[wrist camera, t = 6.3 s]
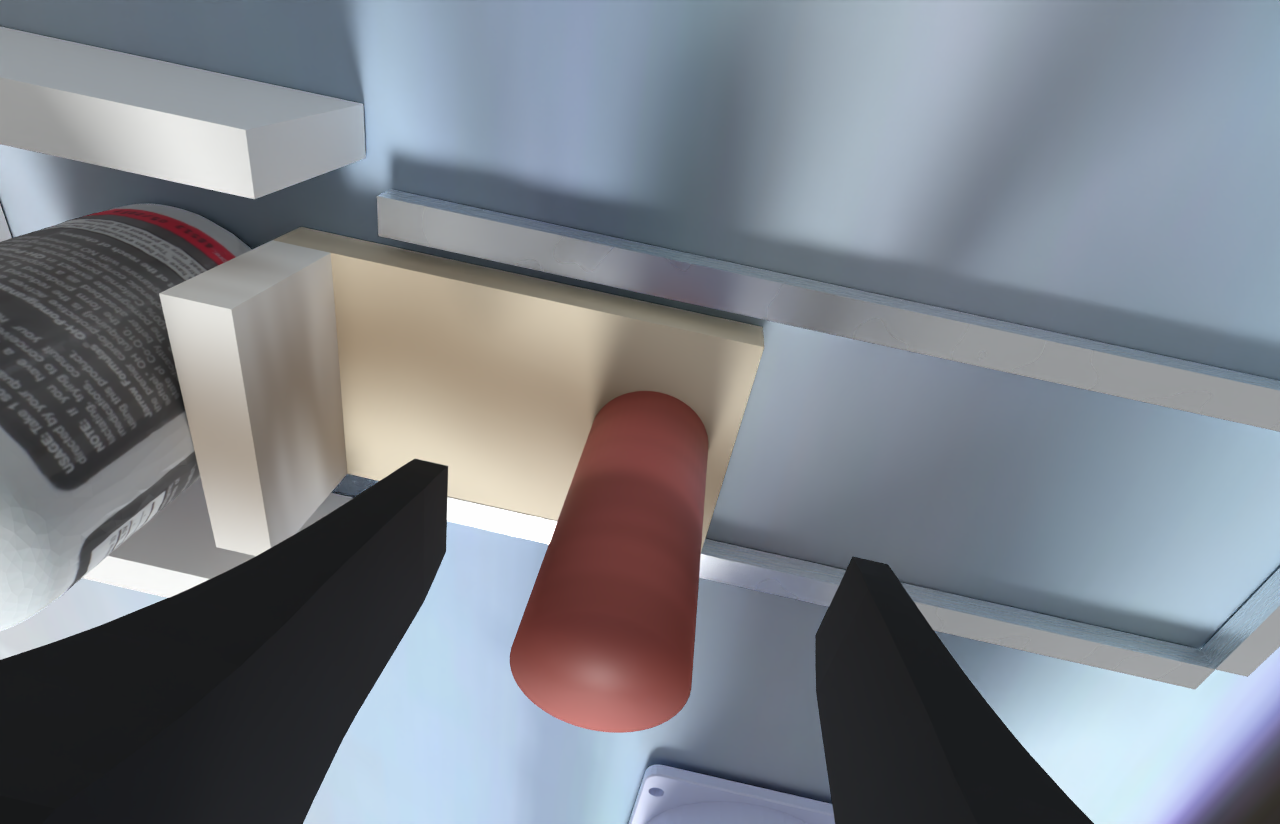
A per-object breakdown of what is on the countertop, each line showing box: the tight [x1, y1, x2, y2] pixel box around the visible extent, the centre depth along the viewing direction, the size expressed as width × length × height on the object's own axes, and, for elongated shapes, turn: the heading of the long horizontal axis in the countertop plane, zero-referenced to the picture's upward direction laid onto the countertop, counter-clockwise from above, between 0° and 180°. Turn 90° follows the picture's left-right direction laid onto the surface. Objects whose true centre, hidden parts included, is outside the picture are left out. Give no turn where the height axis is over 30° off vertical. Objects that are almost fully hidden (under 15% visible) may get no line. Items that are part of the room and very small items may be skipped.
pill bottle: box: [0, 203, 252, 631], centre depth 11 cm, size 5×5×10 cm
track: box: [377, 189, 1280, 689], centre depth 15 cm, size 8×22×1 cm, turn 81°
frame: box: [0, 26, 366, 598], centre depth 14 cm, size 11×10×4 cm
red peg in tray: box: [159, 227, 764, 732], centre depth 12 cm, size 6×10×7 cm, turn 81°
